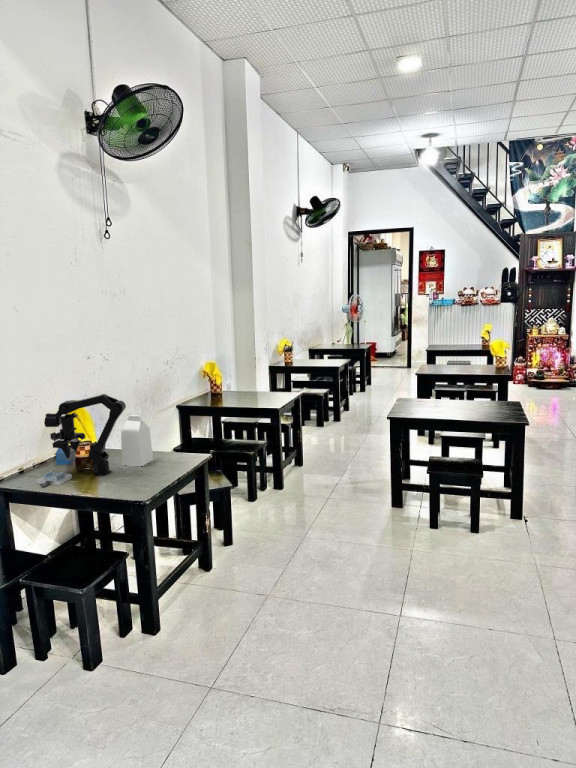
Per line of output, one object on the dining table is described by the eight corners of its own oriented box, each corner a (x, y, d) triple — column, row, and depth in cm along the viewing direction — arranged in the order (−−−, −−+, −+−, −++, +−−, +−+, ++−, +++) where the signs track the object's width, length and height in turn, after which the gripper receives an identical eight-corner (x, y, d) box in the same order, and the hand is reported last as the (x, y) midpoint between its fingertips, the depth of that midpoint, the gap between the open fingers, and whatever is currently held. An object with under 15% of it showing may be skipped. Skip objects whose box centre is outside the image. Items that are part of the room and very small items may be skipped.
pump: (77, 458, 268) (76, 448, 267) (72, 460, 264) (71, 451, 263) (69, 457, 269) (68, 448, 268) (64, 460, 265) (63, 450, 264)
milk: (121, 465, 280) (118, 417, 275) (134, 459, 290) (130, 412, 286) (141, 467, 276) (138, 418, 272) (153, 460, 287) (150, 413, 283)
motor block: (72, 478, 262) (71, 470, 261) (53, 488, 249) (52, 480, 248) (50, 476, 265) (49, 469, 264) (31, 486, 251) (30, 478, 251)
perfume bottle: (56, 464, 283) (54, 443, 281) (61, 461, 289) (59, 439, 287) (68, 464, 284) (66, 442, 281) (72, 460, 290) (70, 439, 288)
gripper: (65, 421, 274) (68, 450, 277) (41, 430, 256) (44, 461, 259) (84, 422, 272) (87, 451, 274) (61, 431, 254) (64, 463, 256)
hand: (70, 456), depth 266 cm, fingers closed on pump, 4 cm apart
